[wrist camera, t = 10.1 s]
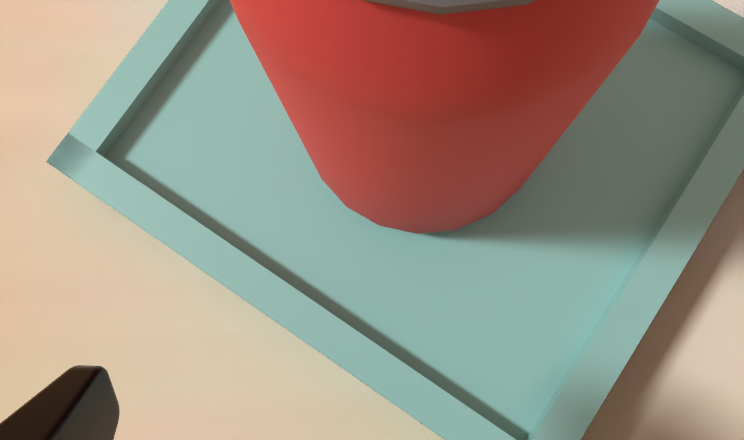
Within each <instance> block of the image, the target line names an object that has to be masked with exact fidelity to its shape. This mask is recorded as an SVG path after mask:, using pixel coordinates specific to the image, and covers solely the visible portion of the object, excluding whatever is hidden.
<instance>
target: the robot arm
mask: <svg viewBox="0 0 744 440" xmlns="http://www.w3.org/2000/svg"><path fill="white" fill-rule="evenodd" d="M118 420H119V404H118V401H117V398H116V395H115V392H114V389H113V386H112V383H111V381H110V378H109V375H108V372H107V370H106V369H105V368H103V367H101V366H84V365H78V366H74V367H72V368H70V369H69V370H67V371H66V372H65V373H63V374H62V375H61V376H60V377H58V378H57V379H56V380H54V381H53V382H52V383H51V384H49V385H48V386H47V387H46V388H44V389H43V390H42V391H41V392H39V393H38V394H37V395H36V396H34V397H33V398H32V399H30V400H29V401H28V402H27V403H25V404H24V405H23V406H22V407H20V408H19V409H18V410H17V411H15V412H14V413H13V414H12V415H10V416H9V417H8V418H6V419H5V420H4V421H3V422H1V423H0V440H113V439H114V435H115V432H116V428H117V424H118Z"/></svg>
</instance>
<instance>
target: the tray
mask: <svg viewBox="0 0 744 440" xmlns="http://www.w3.org/2000/svg"><path fill="white" fill-rule="evenodd" d="M46 162H47V163H49V164H50V165H52V166H53V167H55V168H56V169H57V170H59V171H60V172H62V173H63V174H65V175H66V176H67V177H69V178H70V179H72V180H73V181H75V182H76V183H77V184H79V185H80V186H82V187H83V188H85V189H86V190H88V191H89V192H90V193H92V194H93V195H95V196H96V197H98V198H99V199H100V200H102V201H103V202H105V203H106V204H108V205H109V206H111V207H112V208H113V209H115V210H116V211H118V212H119V213H121V214H122V215H123V216H125V217H126V218H128V219H129V220H131V221H132V222H133V223H135V224H136V225H138V226H139V227H141V228H142V229H144V230H145V231H146V232H148V233H149V234H151V235H152V236H154V237H155V238H156V239H158V240H159V241H161V242H162V243H164V244H165V245H166V246H168V247H169V248H171V249H172V250H174V251H175V252H177V253H178V254H179V255H181V256H182V257H184V258H185V259H187V260H188V261H189V262H191V263H192V264H194V265H195V266H197V267H198V268H199V269H201V270H202V271H204V272H205V273H207V274H208V275H210V276H211V277H212V278H214V279H215V280H217V281H218V282H220V283H221V284H222V285H224V286H225V287H227V288H228V289H230V290H231V291H232V292H234V293H235V294H237V295H238V296H240V297H241V298H243V299H244V300H245V301H247V302H248V303H250V304H251V305H253V306H254V307H255V308H257V309H258V310H260V311H261V312H263V313H264V314H265V315H267V316H268V317H270V318H271V319H273V320H274V321H276V322H277V323H278V324H280V325H281V326H283V327H284V328H286V329H287V330H288V331H290V332H291V333H293V334H294V335H296V336H297V337H298V338H300V339H301V340H303V341H304V342H306V343H307V344H309V345H310V346H311V347H313V348H314V349H316V350H317V351H319V352H320V353H321V354H323V355H324V356H326V357H327V358H329V359H330V360H332V361H333V362H334V363H336V364H337V365H339V366H340V367H342V368H343V369H344V370H346V371H347V372H349V373H350V374H352V375H353V376H354V377H356V378H357V379H359V380H360V381H362V382H363V383H365V384H366V385H367V386H369V387H370V388H372V389H373V390H375V391H376V392H377V393H379V394H380V395H382V396H383V397H385V398H386V399H387V400H389V401H390V402H392V403H393V404H395V405H396V406H398V407H399V408H400V409H402V410H403V411H405V412H406V413H408V414H409V415H410V416H412V417H413V418H415V419H416V420H418V421H419V422H420V423H422V424H423V425H425V426H426V427H428V428H429V429H431V430H432V431H433V432H435V433H436V434H438V435H439V436H441V437H442V438H443V439H445V440H581V438H582V437H583V435H584V433H585V432H586V430H587V428H588V427H589V425H590V423H591V422H592V420H593V418H594V417H595V415H596V413H597V412H598V410H599V408H600V407H601V405H602V403H603V402H604V400H605V398H606V397H607V395H608V393H609V392H610V390H611V388H612V387H613V385H614V383H615V382H616V380H617V378H618V377H619V375H620V374H621V372H622V370H623V369H624V367H625V365H626V364H627V362H628V360H629V359H630V357H631V355H632V354H633V352H634V350H635V349H636V347H637V345H638V344H639V342H640V340H641V339H642V337H643V335H644V334H645V332H646V330H647V329H648V327H649V325H650V324H651V322H652V320H653V319H654V317H655V315H656V314H657V312H658V310H659V309H660V307H661V306H662V304H663V302H664V301H665V299H666V297H667V296H668V294H669V292H670V291H671V289H672V287H673V286H674V284H675V282H676V281H677V279H678V277H679V276H680V274H681V272H682V271H683V269H684V267H685V266H686V264H687V262H688V261H689V259H690V257H691V256H692V254H693V252H694V251H695V249H696V247H697V246H698V244H699V243H700V241H701V239H702V238H703V236H704V234H705V233H706V231H707V229H708V228H709V226H710V224H711V223H712V221H713V219H714V218H715V216H716V214H717V213H718V211H719V209H720V208H721V206H722V204H723V203H724V201H725V199H726V198H727V196H728V194H729V193H730V191H731V189H732V188H733V186H734V184H735V183H736V181H737V180H738V178H739V176H740V175H741V173H742V171H743V170H744V18H743V17H741V16H739V15H737V14H735V13H734V12H732V11H730V10H728V9H726V8H725V7H723V6H721V5H719V4H717V3H715V2H714V1H712V0H659V2H658V4H657V6H656V8H655V9H654V11H653V13H652V15H651V17H650V18H649V20H648V22H647V24H646V25H645V27H644V29H643V31H642V33H641V34H640V36H639V37H638V39H637V40H636V41H635V42H634V44H633V45H632V46H631V48H630V49H629V50H628V51H627V53H626V54H625V55H624V56H623V58H622V59H621V60H620V62H619V63H618V64H617V65H616V67H615V68H614V69H613V71H612V72H611V73H610V74H609V76H608V77H607V78H606V79H605V81H604V82H603V83H602V85H601V86H600V87H599V88H598V90H597V91H596V92H595V94H594V95H593V96H592V97H591V99H590V100H589V101H588V102H587V104H586V105H585V106H584V108H583V109H582V110H581V111H580V113H579V114H578V115H577V117H576V118H575V119H574V120H573V122H572V123H571V124H570V125H569V127H568V128H567V129H566V131H565V132H564V133H563V134H562V136H561V137H560V138H559V140H558V141H557V142H556V143H555V145H554V146H553V147H552V148H551V150H550V151H549V152H548V154H547V155H546V156H545V157H544V159H543V160H542V161H541V163H540V164H539V165H538V166H537V168H536V169H535V170H534V171H533V173H532V174H531V175H530V177H529V178H528V179H527V180H526V182H525V183H524V184H523V186H522V187H521V188H520V189H519V190H518V191H517V192H516V193H515V194H514V195H512V196H511V197H510V198H509V199H508V200H507V201H506V202H505V203H504V204H502V205H501V206H500V207H499V208H498V209H497V210H496V211H495V212H494V213H492V214H491V215H489V216H486V217H484V218H482V219H480V220H477V221H475V222H473V223H471V224H468V225H466V226H464V227H461V228H459V229H457V230H449V231H440V232H430V233H420V234H416V233H411V232H407V231H402V230H397V229H392V228H388V227H383V226H379V225H377V224H376V223H374V222H372V221H370V220H369V219H367V218H365V217H363V216H362V215H360V214H358V213H356V212H355V211H353V210H351V209H349V208H348V207H346V206H345V205H344V203H343V202H342V201H341V200H340V199H339V198H338V197H337V196H336V195H335V193H334V192H333V191H332V190H331V189H330V188H329V187H328V186H327V185H326V183H325V182H324V181H323V180H322V179H321V177H320V175H319V173H318V171H317V169H316V167H315V166H314V164H313V162H312V160H311V158H310V156H309V154H308V152H307V150H306V148H305V146H304V145H303V143H302V141H301V139H300V137H299V135H298V133H297V131H296V129H295V127H294V126H293V124H292V122H291V120H290V118H289V116H288V114H287V112H286V110H285V108H284V107H283V105H282V103H281V101H280V99H279V97H278V95H277V93H276V91H275V89H274V88H273V86H272V84H271V82H270V80H269V78H268V76H267V74H266V72H265V70H264V68H263V67H262V65H261V63H260V61H259V59H258V57H257V55H256V53H255V51H254V49H253V48H252V46H251V44H250V42H249V40H248V38H247V36H246V34H245V32H244V30H243V29H242V27H241V25H240V23H239V21H238V18H237V16H236V14H235V11H234V9H233V7H232V4H231V2H230V0H169V1H168V2H167V3H166V5H165V6H164V7H163V9H162V10H161V11H160V13H159V14H158V15H157V16H156V18H155V19H154V20H153V22H152V23H151V24H150V26H149V27H148V28H147V30H146V31H145V32H144V34H143V35H142V36H141V38H140V39H139V40H138V42H137V43H136V44H135V45H134V47H133V48H132V49H131V51H130V52H129V53H128V55H127V56H126V57H125V59H124V60H123V61H122V63H121V64H120V65H119V67H118V68H117V69H116V70H115V72H114V73H113V74H112V76H111V77H110V78H109V80H108V81H107V82H106V84H105V85H104V86H103V88H102V89H101V90H100V92H99V93H98V94H97V95H96V97H95V98H94V99H93V101H92V102H91V103H90V105H89V106H88V107H87V109H86V110H85V111H84V113H83V114H82V115H81V117H80V118H79V119H78V121H77V122H76V123H75V124H74V126H73V127H72V128H71V130H70V131H69V132H68V134H67V135H66V136H65V138H64V139H63V140H62V142H61V143H60V144H59V146H58V147H57V148H56V149H55V151H54V152H53V153H52V155H51V156H50V157H49V159H48V160H47V161H46Z"/></svg>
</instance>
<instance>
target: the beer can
mask: <svg viewBox="0 0 744 440" xmlns="http://www.w3.org/2000/svg"><path fill="white" fill-rule="evenodd" d="M230 2H231V4H232V7H233V9H234V11H235V14H236V16H237V18H238V21H239V23H240V25H241V27H242V29H243V30H244V32H245V34H246V36H247V38H248V40H249V42H250V44H251V46H252V48H253V49H254V51H255V53H256V55H257V57H258V59H259V61H260V63H261V65H262V67H263V68H264V70H265V72H266V74H267V76H268V78H269V80H270V82H271V84H272V86H273V88H274V89H275V91H276V93H277V95H278V97H279V99H280V101H281V103H282V105H283V107H284V108H285V110H286V112H287V114H288V116H289V118H290V120H291V122H292V124H293V126H294V127H295V129H296V131H297V133H298V135H299V137H300V139H301V141H302V143H303V145H304V146H305V148H306V150H307V152H308V154H309V156H310V158H311V160H312V162H313V164H314V166H315V167H316V169H317V171H318V173H319V175H320V177H321V179H322V180H323V181H324V182H325V183H326V185H327V186H328V187H329V188H330V189H331V190H332V191H333V192H334V193H335V195H336V196H337V197H338V198H339V199H340V200H341V201H342V202H343V203H344V205H345V206H346V207H348V208H349V209H351V210H353V211H355V212H356V213H358V214H360V215H362V216H363V217H365V218H367V219H369V220H370V221H372V222H374V223H376V224H377V225H379V226H383V227H388V228H392V229H397V230H402V231H407V232H411V233H416V234H420V233H430V232H440V231H449V230H457V229H459V228H461V227H464V226H466V225H468V224H471V223H473V222H475V221H477V220H480V219H482V218H484V217H486V216H489V215H491V214H492V213H494V212H495V211H496V210H497V209H498V208H499V207H500V206H501V205H502V204H504V203H505V202H506V201H507V200H508V199H509V198H510V197H511V196H512V195H514V194H515V193H516V192H517V191H518V190H519V189H520V188H521V187H522V186H523V184H524V183H525V182H526V180H527V179H528V178H529V177H530V175H531V174H532V173H533V171H534V170H535V169H536V168H537V166H538V165H539V164H540V163H541V161H542V160H543V159H544V157H545V156H546V155H547V154H548V152H549V151H550V150H551V148H552V147H553V146H554V145H555V143H556V142H557V141H558V140H559V138H560V137H561V136H562V134H563V133H564V132H565V131H566V129H567V128H568V127H569V125H570V124H571V123H572V122H573V120H574V119H575V118H576V117H577V115H578V114H579V113H580V111H581V110H582V109H583V108H584V106H585V105H586V104H587V102H588V101H589V100H590V99H591V97H592V96H593V95H594V94H595V92H596V91H597V90H598V88H599V87H600V86H601V85H602V83H603V82H604V81H605V79H606V78H607V77H608V76H609V74H610V73H611V72H612V71H613V69H614V68H615V67H616V65H617V64H618V63H619V62H620V60H621V59H622V58H623V56H624V55H625V54H626V53H627V51H628V50H629V49H630V48H631V46H632V45H633V44H634V42H635V41H636V40H637V39H638V37H639V36H640V34H641V33H642V31H643V29H644V27H645V25H646V24H647V22H648V20H649V18H650V17H651V15H652V13H653V11H654V9H655V8H656V6H657V4H658V2H659V0H230Z"/></svg>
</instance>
